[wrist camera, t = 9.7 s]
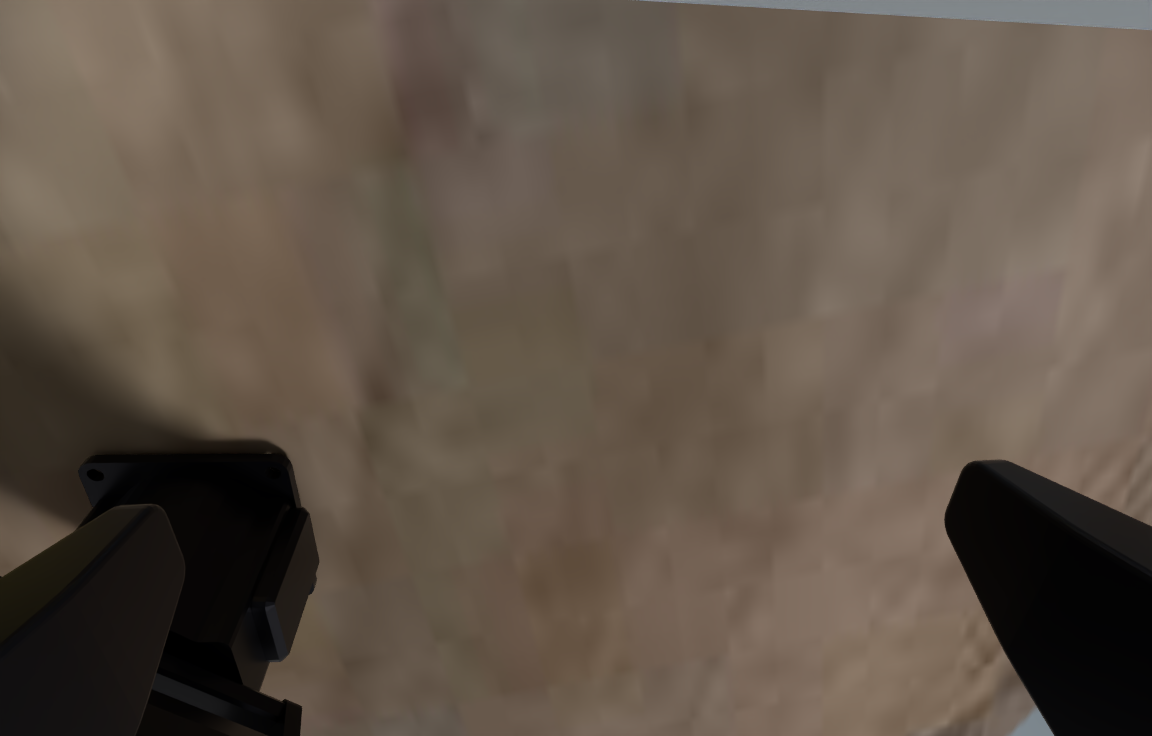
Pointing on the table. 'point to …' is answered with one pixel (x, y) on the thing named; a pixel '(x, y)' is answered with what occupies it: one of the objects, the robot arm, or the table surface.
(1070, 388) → the table surface
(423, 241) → the table surface
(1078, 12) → the socket board
